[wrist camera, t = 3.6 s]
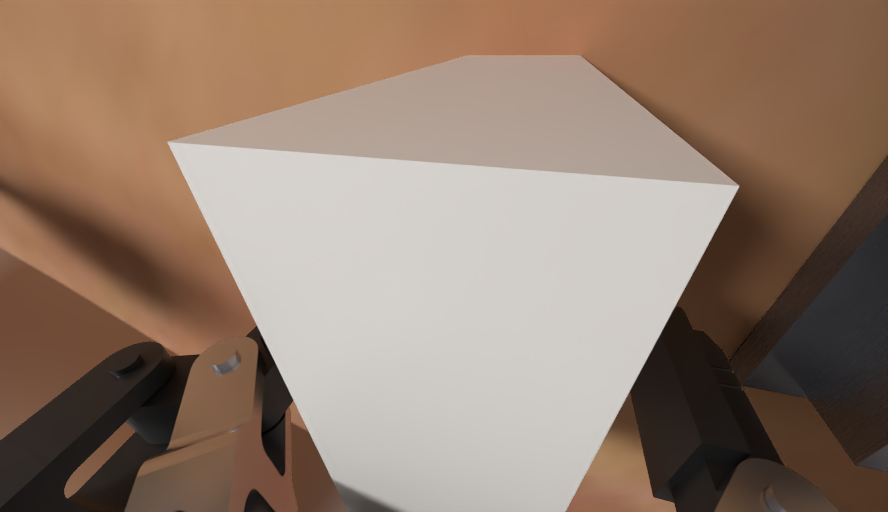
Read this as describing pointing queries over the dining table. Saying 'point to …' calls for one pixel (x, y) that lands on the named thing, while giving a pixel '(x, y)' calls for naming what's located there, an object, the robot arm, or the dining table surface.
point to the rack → (835, 330)
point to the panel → (459, 269)
